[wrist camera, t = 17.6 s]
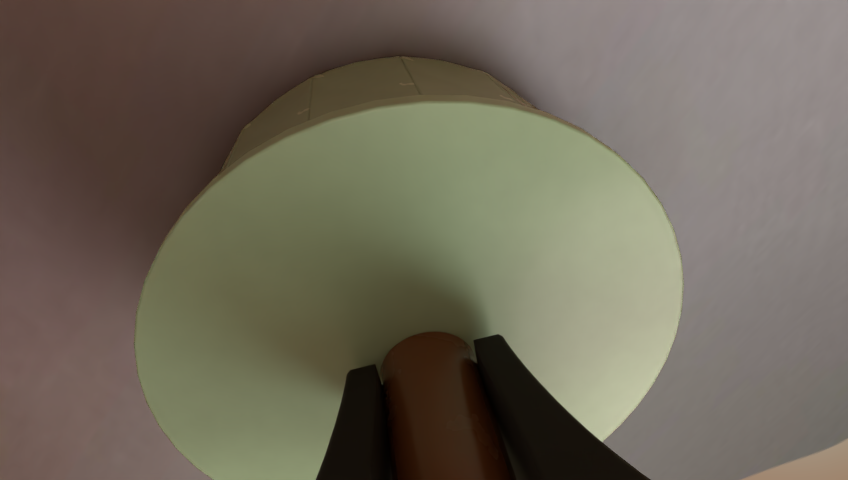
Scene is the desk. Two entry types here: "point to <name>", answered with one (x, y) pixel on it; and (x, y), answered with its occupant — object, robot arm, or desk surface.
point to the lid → (405, 287)
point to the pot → (366, 93)
